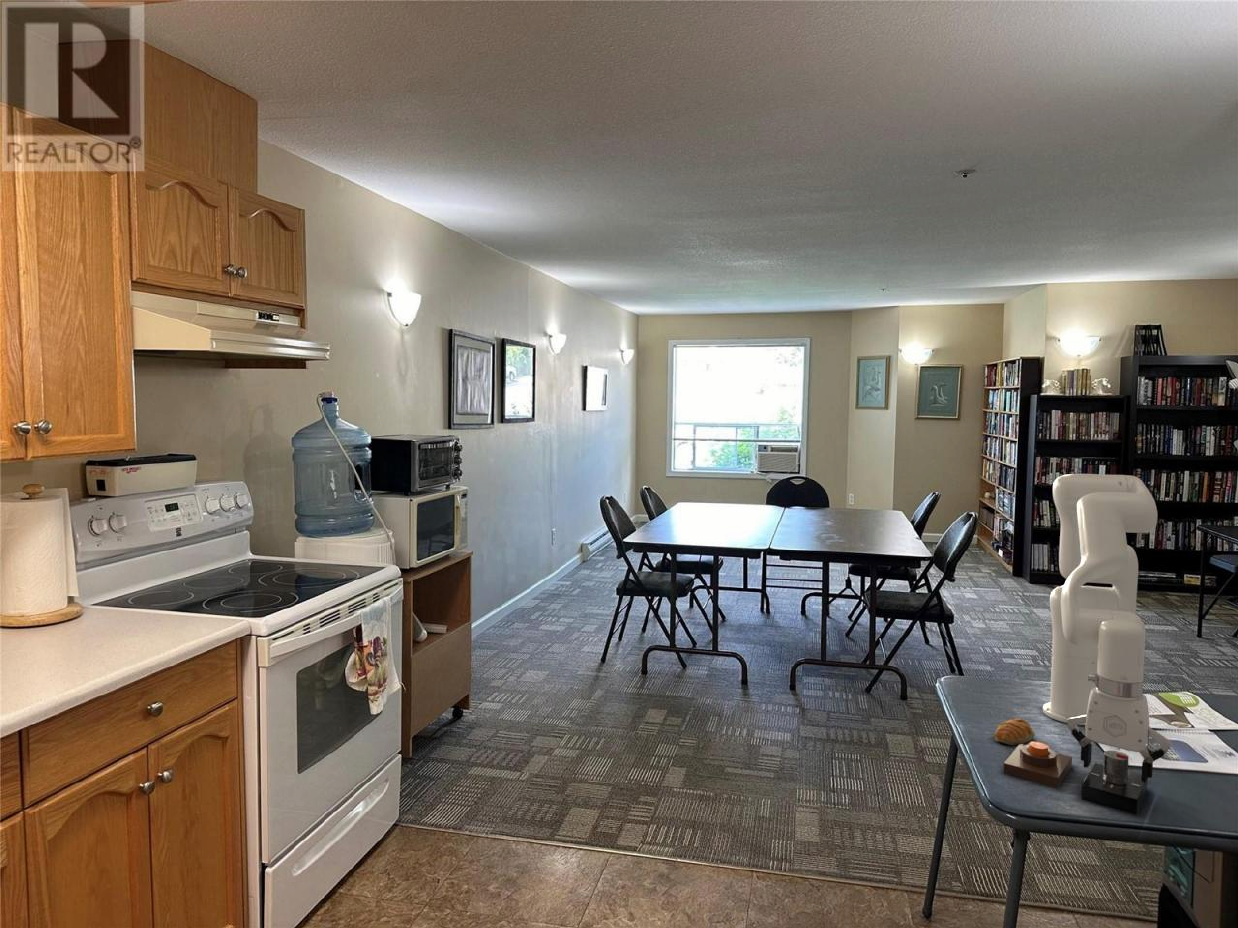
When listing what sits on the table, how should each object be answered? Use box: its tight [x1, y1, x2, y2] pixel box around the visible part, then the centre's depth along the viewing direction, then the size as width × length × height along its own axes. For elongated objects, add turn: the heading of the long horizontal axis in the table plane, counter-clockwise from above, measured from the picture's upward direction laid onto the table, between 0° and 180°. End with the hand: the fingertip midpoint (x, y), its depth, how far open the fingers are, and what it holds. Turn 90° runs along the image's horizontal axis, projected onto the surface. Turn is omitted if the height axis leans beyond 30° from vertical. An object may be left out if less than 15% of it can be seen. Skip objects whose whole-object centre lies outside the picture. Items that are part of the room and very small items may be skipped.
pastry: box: [994, 718, 1036, 746], centre depth 182 cm, size 9×7×4 cm
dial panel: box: [1081, 762, 1148, 816], centre depth 157 cm, size 12×9×3 cm
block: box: [1003, 743, 1073, 789], centre depth 168 cm, size 12×10×4 cm
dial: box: [1103, 750, 1130, 785], centre depth 157 cm, size 4×4×5 cm
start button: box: [1028, 741, 1050, 756], centre depth 167 cm, size 4×4×2 cm
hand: (1115, 772), depth 157 cm, fingers open, 9 cm apart
